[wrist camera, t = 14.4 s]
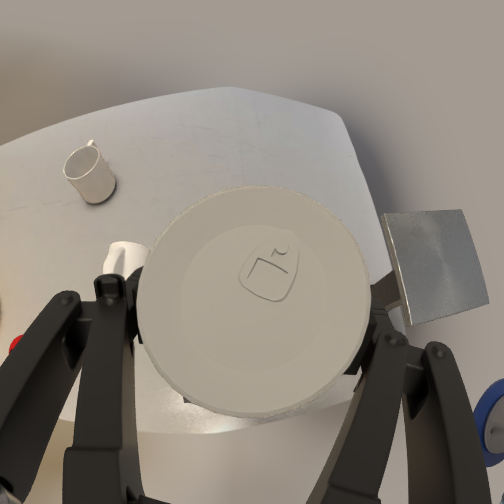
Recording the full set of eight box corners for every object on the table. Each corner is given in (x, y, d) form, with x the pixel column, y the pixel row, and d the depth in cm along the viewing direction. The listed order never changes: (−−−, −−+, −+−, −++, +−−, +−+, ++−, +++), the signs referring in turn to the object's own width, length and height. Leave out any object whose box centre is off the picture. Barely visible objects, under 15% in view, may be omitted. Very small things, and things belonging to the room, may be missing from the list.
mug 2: (157, 258, 57) (137, 232, 46) (150, 310, 54) (126, 295, 42) (119, 256, 57) (94, 231, 46) (111, 306, 54) (82, 290, 43)
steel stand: (383, 338, 52) (489, 303, 24) (329, 349, 51) (411, 325, 23) (372, 283, 56) (461, 209, 28) (319, 290, 55) (383, 213, 27)
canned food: (320, 287, 21) (380, 206, 10) (298, 402, 18) (350, 438, 7) (212, 264, 21) (178, 167, 11) (182, 376, 18) (107, 379, 8)
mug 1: (114, 203, 62) (94, 175, 52) (81, 208, 62) (59, 182, 51) (121, 161, 66) (105, 131, 56) (90, 167, 66) (72, 139, 56)
